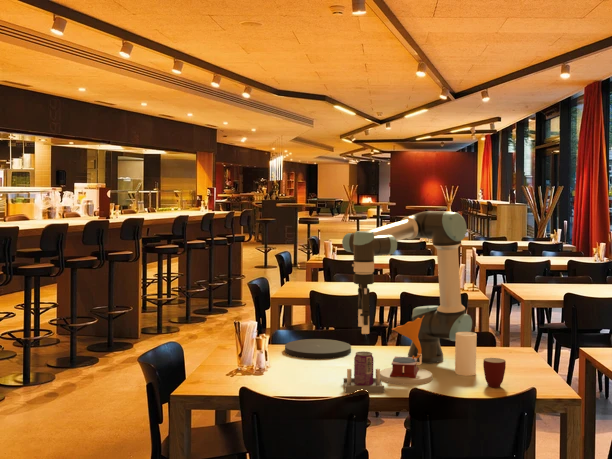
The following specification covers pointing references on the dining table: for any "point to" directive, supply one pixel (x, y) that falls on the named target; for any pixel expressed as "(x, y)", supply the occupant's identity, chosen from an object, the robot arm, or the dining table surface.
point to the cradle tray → (373, 388)
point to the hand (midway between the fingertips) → (363, 330)
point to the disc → (317, 349)
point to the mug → (494, 371)
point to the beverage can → (363, 369)
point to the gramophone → (407, 360)
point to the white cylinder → (465, 353)
